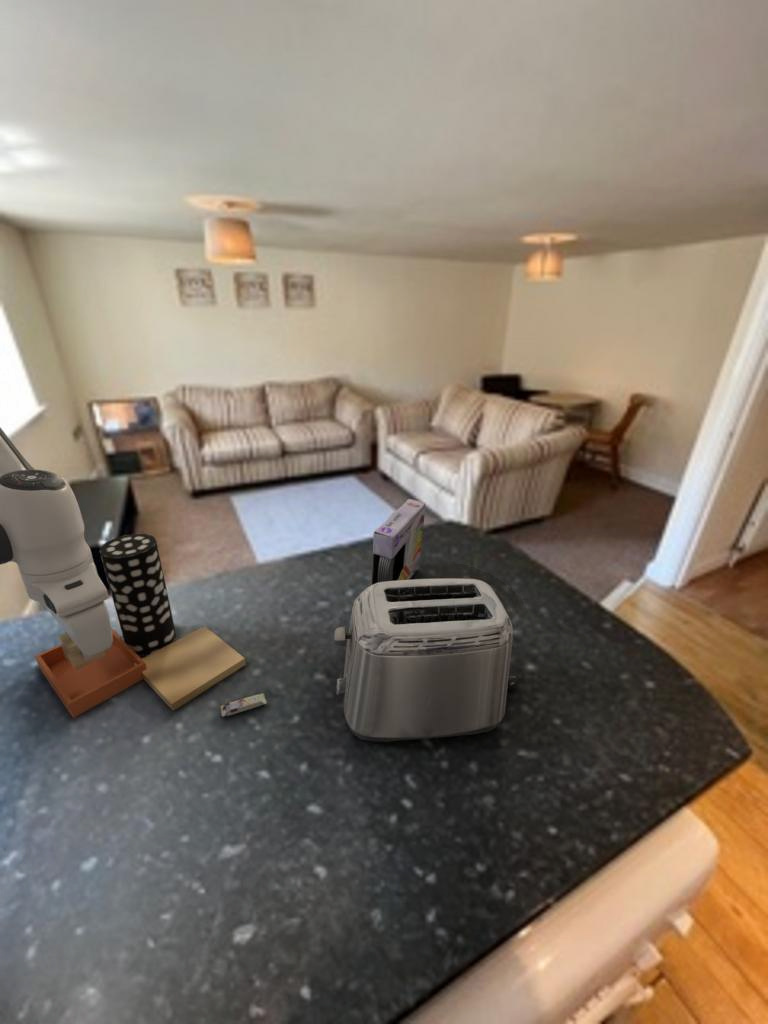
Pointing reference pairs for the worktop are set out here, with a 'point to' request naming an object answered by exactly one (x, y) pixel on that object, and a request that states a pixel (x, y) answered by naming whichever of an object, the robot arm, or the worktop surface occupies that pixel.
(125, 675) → the orange-brown tray
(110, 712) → the worktop surface
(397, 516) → the cake pan box
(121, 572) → the white-spotted black cylinder
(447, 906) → the worktop surface
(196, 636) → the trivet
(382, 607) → the toaster
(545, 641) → the worktop surface
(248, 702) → the granola bar
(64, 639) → the block
